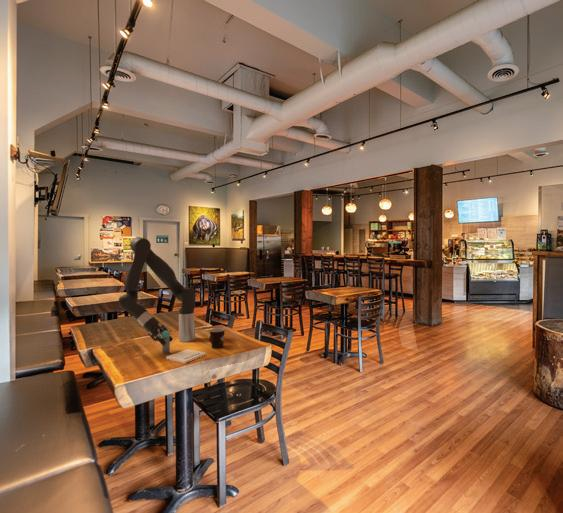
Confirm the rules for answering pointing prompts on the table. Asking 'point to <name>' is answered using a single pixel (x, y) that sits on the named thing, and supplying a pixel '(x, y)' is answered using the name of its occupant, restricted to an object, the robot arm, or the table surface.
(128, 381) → the table surface
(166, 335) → the marker
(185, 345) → the table surface
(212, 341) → the coffee mug
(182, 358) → the notepad
